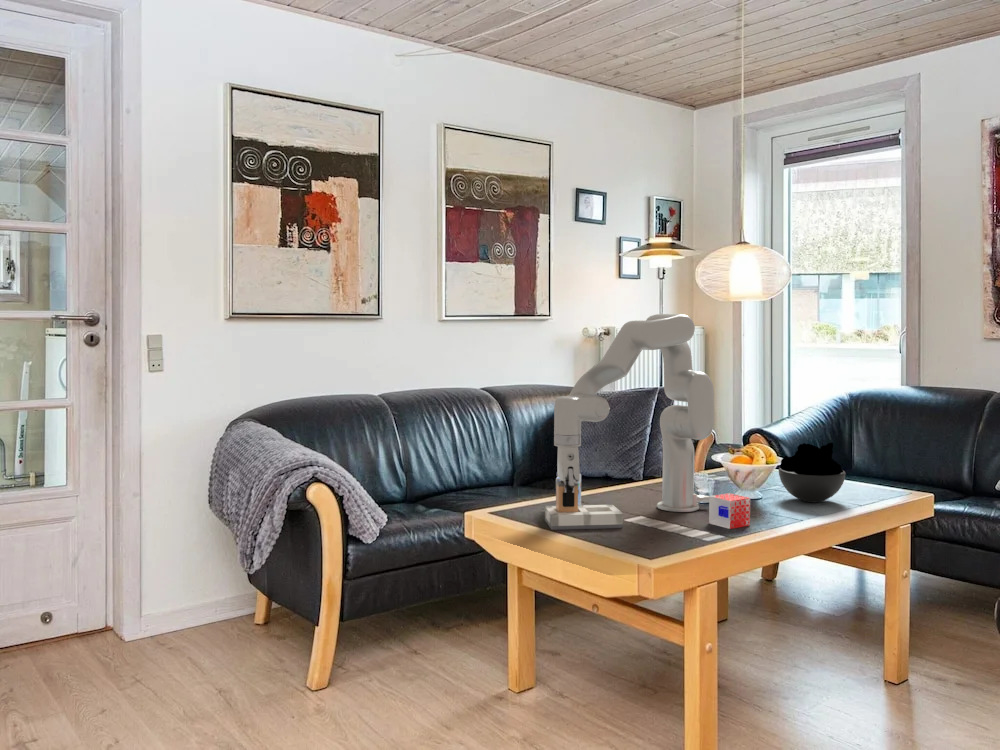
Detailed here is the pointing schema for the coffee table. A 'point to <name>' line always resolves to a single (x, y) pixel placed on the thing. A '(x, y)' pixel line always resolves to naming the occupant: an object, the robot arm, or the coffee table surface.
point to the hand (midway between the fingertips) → (567, 504)
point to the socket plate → (584, 517)
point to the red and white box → (729, 510)
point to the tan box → (560, 498)
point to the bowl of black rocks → (811, 473)
